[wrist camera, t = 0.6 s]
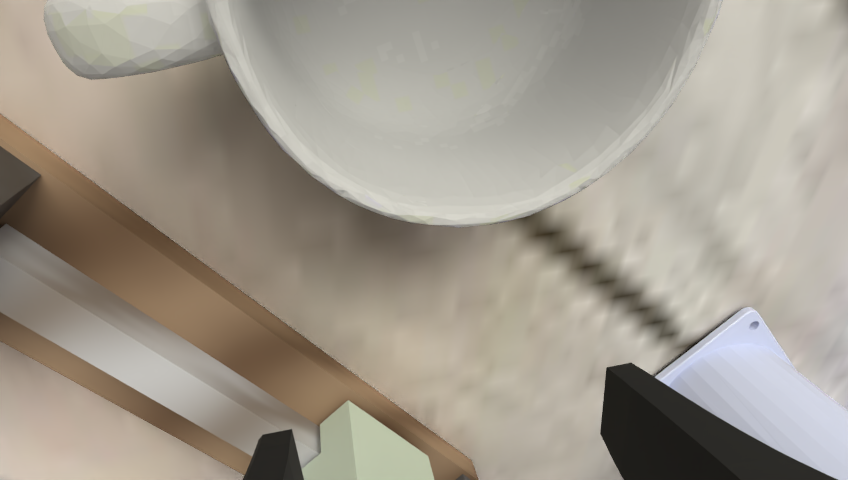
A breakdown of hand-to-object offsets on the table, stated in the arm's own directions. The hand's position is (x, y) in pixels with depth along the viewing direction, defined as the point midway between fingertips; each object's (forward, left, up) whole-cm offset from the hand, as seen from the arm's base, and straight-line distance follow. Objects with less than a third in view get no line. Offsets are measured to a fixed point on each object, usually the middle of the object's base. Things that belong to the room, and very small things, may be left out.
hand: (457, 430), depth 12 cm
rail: (0, +8, -10) cm, 13 cm away
